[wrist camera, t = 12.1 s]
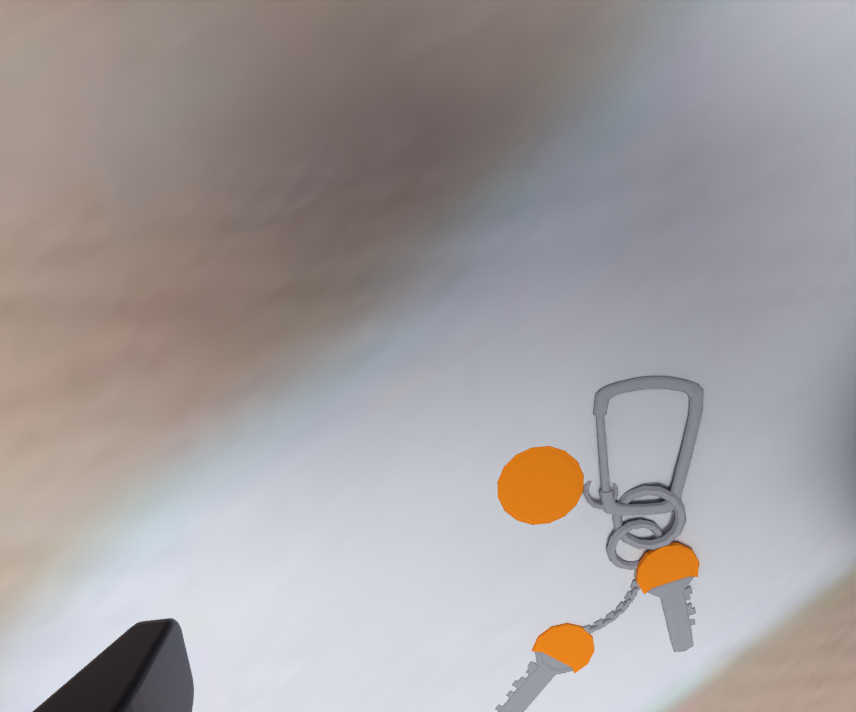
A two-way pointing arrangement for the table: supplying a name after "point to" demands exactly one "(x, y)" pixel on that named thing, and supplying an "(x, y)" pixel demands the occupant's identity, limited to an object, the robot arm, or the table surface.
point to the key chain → (655, 573)
